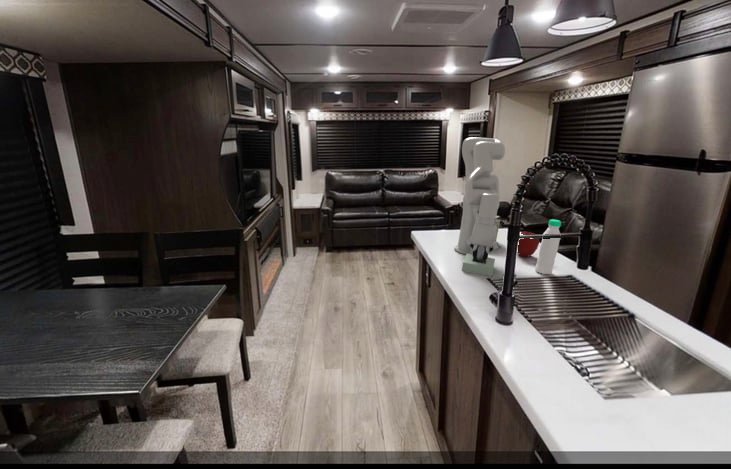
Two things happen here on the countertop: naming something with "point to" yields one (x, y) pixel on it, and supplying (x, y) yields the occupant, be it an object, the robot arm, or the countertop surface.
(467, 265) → the socket block
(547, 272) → the water bottle
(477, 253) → the peg
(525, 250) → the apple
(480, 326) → the countertop surface
